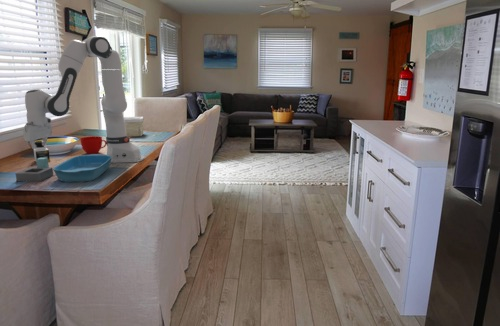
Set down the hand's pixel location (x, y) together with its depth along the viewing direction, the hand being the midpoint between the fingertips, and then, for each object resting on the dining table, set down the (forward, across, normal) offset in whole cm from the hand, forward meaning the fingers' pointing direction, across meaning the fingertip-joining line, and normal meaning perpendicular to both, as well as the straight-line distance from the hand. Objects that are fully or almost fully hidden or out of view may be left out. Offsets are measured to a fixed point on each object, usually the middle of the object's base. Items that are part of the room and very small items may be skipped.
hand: (39, 147), depth 214 cm
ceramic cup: (+13, +46, -9) cm, 49 cm away
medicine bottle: (+13, +24, +13) cm, 30 cm away
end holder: (+13, -14, -5) cm, 20 cm away
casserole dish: (+13, -5, -26) cm, 30 cm away
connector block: (+13, 0, -1) cm, 13 cm away
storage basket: (+12, +115, -6) cm, 116 cm away
